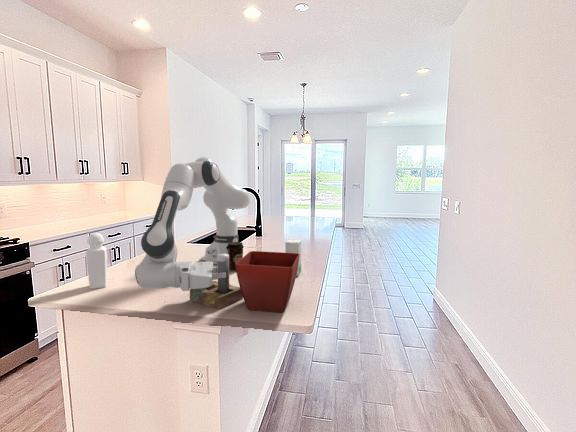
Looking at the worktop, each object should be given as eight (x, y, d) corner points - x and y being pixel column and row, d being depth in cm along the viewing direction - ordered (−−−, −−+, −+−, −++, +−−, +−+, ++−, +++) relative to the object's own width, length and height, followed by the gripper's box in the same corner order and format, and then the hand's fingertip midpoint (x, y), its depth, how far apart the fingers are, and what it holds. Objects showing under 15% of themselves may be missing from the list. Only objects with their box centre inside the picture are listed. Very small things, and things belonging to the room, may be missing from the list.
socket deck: (189, 300, 118) (188, 288, 117) (214, 290, 128) (213, 280, 127) (218, 309, 110) (218, 297, 109) (242, 298, 120) (242, 287, 119)
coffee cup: (247, 267, 160) (247, 242, 159) (239, 272, 152) (239, 245, 151) (231, 266, 163) (231, 240, 162) (223, 270, 155) (222, 244, 154)
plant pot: (292, 318, 103) (292, 266, 101) (234, 313, 107) (234, 263, 105) (299, 296, 122) (300, 253, 120) (250, 293, 125) (250, 250, 123)
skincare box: (298, 276, 147) (299, 243, 145) (284, 275, 148) (284, 242, 146) (301, 271, 155) (301, 239, 153) (288, 270, 156) (288, 238, 154)
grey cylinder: (215, 293, 116) (215, 255, 114) (223, 290, 119) (223, 253, 118) (223, 295, 114) (223, 256, 112) (231, 292, 117) (231, 254, 115)
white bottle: (90, 284, 134) (87, 232, 131) (108, 282, 136) (105, 231, 134) (88, 289, 128) (84, 234, 125) (107, 287, 130) (103, 233, 128)
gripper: (188, 274, 123) (225, 272, 126) (182, 293, 103) (226, 290, 106) (188, 258, 123) (225, 256, 125) (182, 273, 103) (226, 271, 106)
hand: (226, 272), depth 116 cm, fingers closed on grey cylinder, 4 cm apart
